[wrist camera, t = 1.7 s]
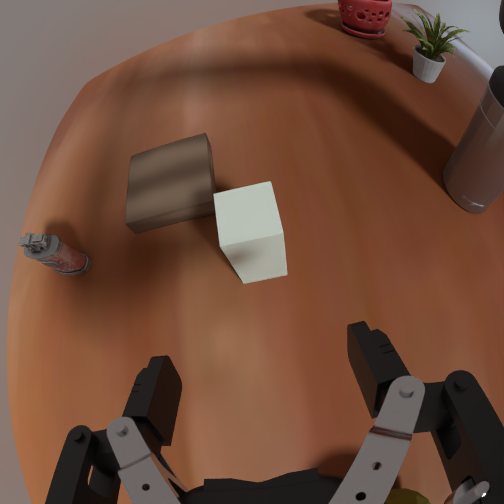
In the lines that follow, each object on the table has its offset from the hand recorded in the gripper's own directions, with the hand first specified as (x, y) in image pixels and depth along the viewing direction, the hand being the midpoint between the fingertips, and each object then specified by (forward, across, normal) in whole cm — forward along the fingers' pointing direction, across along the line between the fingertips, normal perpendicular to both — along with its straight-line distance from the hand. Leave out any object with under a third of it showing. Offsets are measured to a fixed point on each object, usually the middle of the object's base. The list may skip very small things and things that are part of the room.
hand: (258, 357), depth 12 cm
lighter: (+25, +28, +2) cm, 38 cm away
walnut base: (+30, +10, -5) cm, 32 cm away
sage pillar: (+21, 0, +5) cm, 22 cm away
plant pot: (+59, -37, -34) cm, 77 cm away
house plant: (+44, -43, -19) cm, 64 cm away
